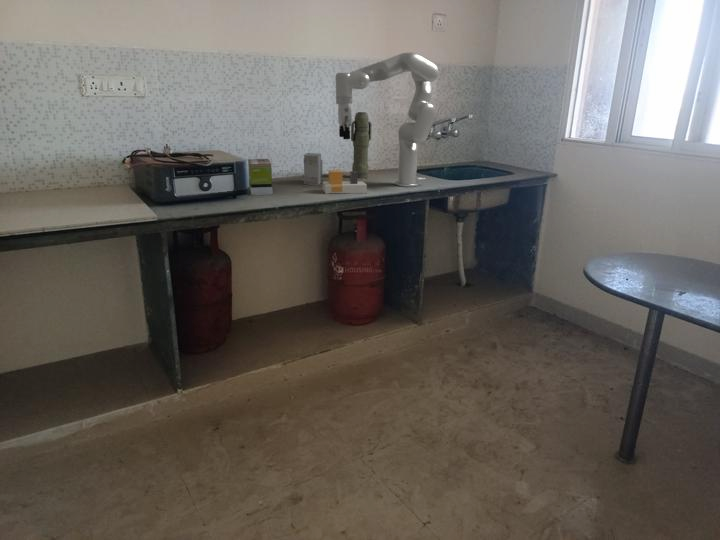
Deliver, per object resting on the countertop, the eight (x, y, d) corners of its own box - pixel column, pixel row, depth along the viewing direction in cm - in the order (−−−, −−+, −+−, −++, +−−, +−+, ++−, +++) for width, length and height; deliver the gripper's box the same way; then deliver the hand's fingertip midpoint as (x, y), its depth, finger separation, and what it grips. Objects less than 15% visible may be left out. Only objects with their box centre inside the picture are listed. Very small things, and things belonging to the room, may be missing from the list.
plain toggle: (355, 185, 258) (356, 171, 255) (357, 186, 255) (357, 172, 252) (349, 185, 257) (350, 171, 255) (351, 186, 254) (351, 172, 252)
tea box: (249, 189, 255) (247, 158, 250) (270, 188, 258) (269, 158, 253) (251, 195, 242) (249, 163, 237) (273, 195, 244) (272, 162, 239)
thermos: (373, 177, 295) (375, 112, 283) (356, 179, 288) (357, 113, 276) (364, 175, 302) (365, 111, 290) (347, 176, 295) (348, 112, 283)
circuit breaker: (322, 180, 283) (322, 152, 278) (318, 185, 269) (318, 155, 264) (309, 179, 283) (308, 151, 278) (303, 184, 270) (303, 155, 265)
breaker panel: (362, 189, 262) (362, 180, 261) (366, 193, 253) (367, 184, 251) (322, 189, 258) (322, 181, 257) (325, 194, 249) (325, 184, 248)
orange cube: (340, 182, 257) (340, 169, 255) (342, 184, 251) (342, 171, 249) (328, 182, 256) (328, 170, 254) (330, 184, 250) (330, 171, 248)
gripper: (355, 101, 240) (356, 139, 246) (348, 99, 255) (348, 135, 261) (339, 101, 238) (340, 140, 244) (332, 100, 254) (333, 136, 260)
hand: (344, 138), depth 253 cm, fingers open, 9 cm apart
